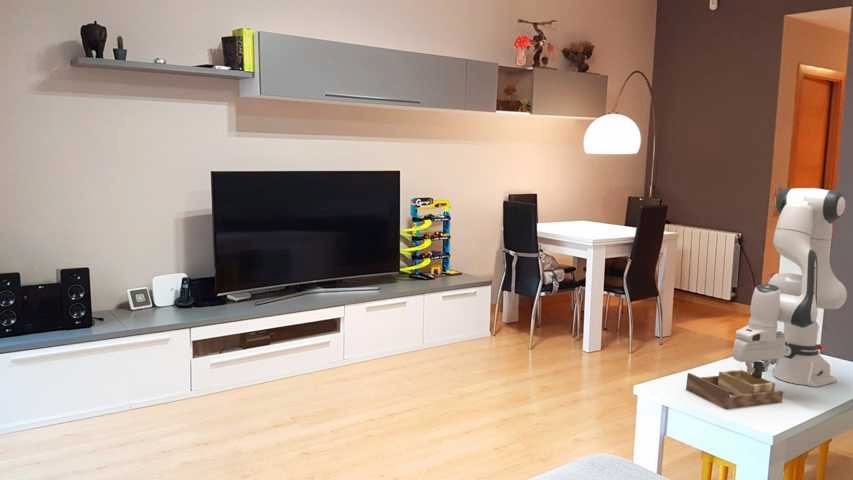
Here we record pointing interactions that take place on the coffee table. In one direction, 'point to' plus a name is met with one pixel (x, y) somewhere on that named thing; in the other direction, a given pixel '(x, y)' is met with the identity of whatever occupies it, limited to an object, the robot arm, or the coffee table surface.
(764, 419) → the coffee table surface
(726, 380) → the crate
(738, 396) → the bay
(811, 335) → the robot arm
